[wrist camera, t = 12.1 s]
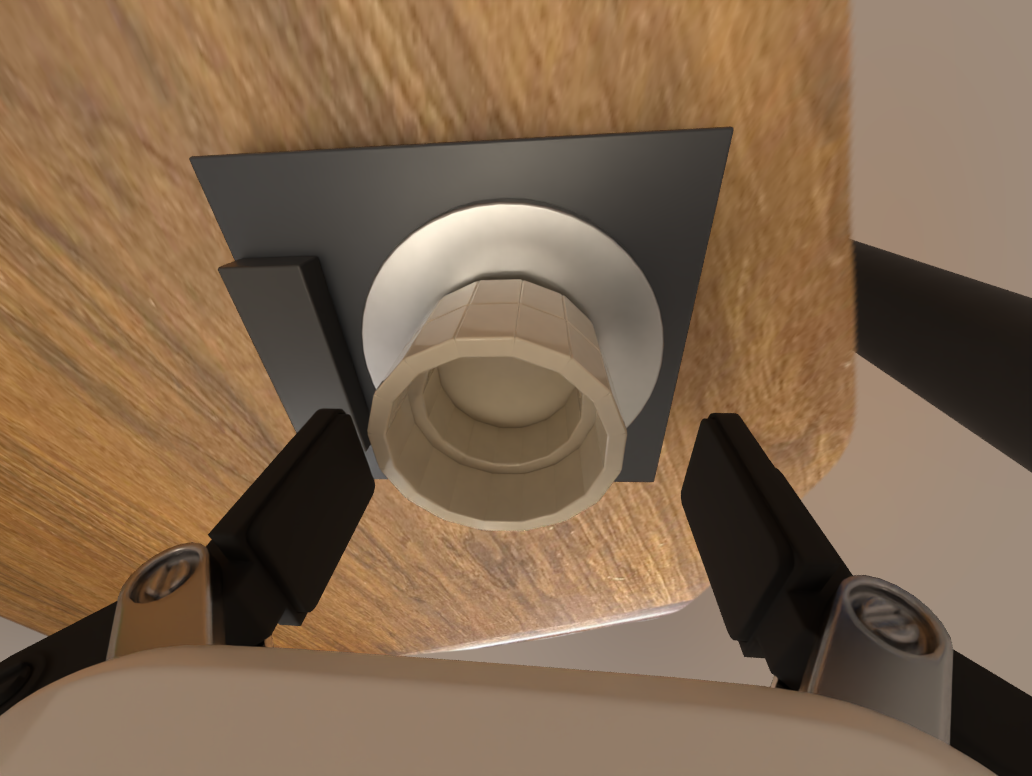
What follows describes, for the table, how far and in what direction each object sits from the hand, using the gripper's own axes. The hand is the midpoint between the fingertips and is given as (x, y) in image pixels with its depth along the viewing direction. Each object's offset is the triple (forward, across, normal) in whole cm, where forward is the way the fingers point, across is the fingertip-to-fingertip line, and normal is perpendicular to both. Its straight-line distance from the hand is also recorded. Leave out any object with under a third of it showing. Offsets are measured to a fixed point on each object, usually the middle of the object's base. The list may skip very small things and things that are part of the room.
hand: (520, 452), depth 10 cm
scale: (+8, +2, 0) cm, 8 cm away
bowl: (+4, +1, 0) cm, 4 cm away
